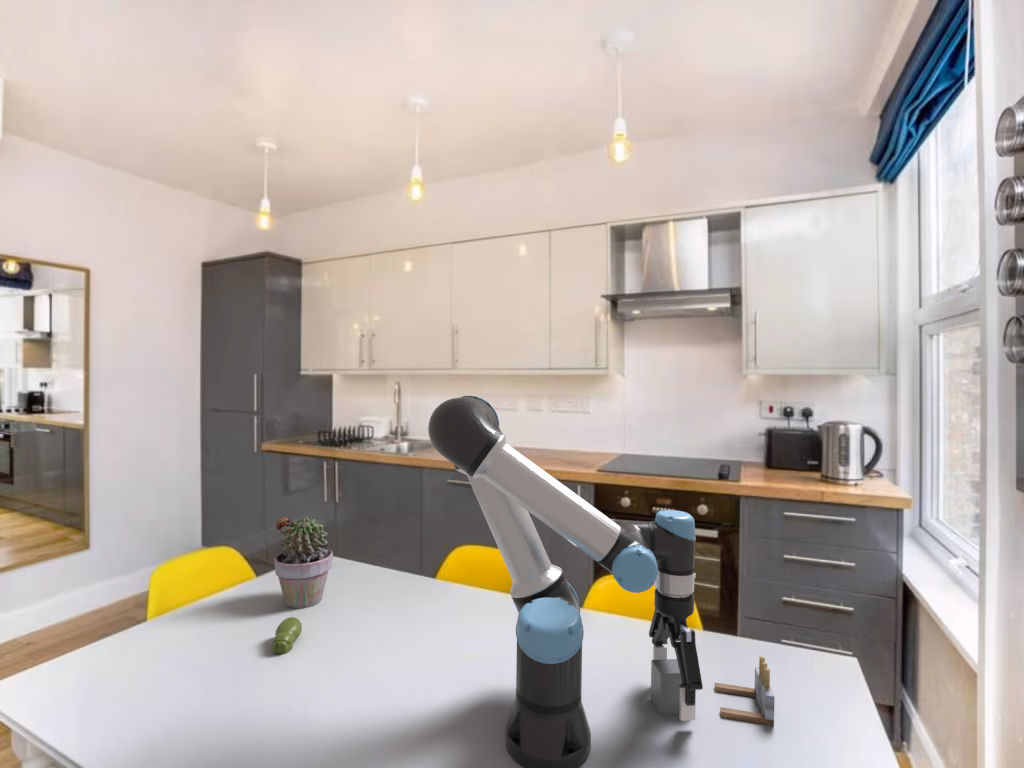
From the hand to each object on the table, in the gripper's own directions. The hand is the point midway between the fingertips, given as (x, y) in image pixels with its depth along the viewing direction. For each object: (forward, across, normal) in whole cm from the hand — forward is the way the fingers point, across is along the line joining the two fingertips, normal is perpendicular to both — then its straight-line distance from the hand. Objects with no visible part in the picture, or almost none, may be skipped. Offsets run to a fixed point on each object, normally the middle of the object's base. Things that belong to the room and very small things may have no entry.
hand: (672, 697), depth 103 cm
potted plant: (+2, +55, +86) cm, 102 cm away
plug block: (+2, 0, 0) cm, 2 cm away
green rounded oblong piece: (+2, +30, +84) cm, 89 cm away
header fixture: (+2, -1, -14) cm, 14 cm away
